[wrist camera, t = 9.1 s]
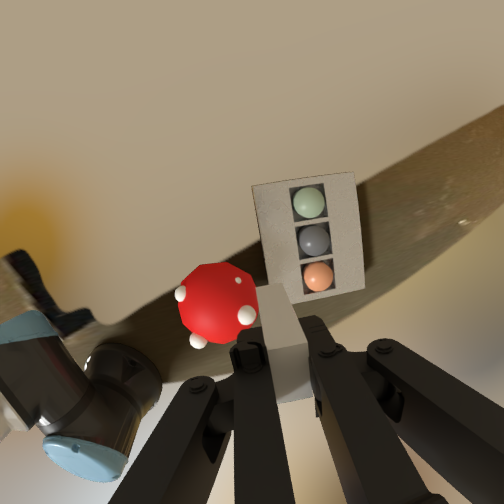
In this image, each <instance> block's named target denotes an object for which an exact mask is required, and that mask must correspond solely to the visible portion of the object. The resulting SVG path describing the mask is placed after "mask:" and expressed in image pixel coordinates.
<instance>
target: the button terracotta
mask: <svg viewBox="0 0 504 504" xmlns="http://www.w3.org/2000/svg"><path fill="white" fill-rule="evenodd" d="M302 277H303V280H304V281H305V283H306V284H307V286H308V287H309V288H310V289H311V290H313V291H323V290H325V289H327V288H328V287H329V286H330V285H331V283H332V280H333V272H332V270H331V269H330V267H328V266H327V265H326V264H325V263H324V262H323V261H321V260H320V261H315V262H310V263H307V264H306V265H305V267H304V268H303V272H302Z"/></svg>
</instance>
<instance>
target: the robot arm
mask: <svg viewBox="0 0 504 504" xmlns="http://www.w3.org/2000/svg"><path fill="white" fill-rule="evenodd" d="M255 288H256V294H257V300H258V306H259V312H260V318H261V324H262V326H261V327H255V328H249V329H243V330H241V331H240V332H239V334H238V335H237V344H235V345H234V346H233V347H232V348H231V349H230V352H229V353H230V357H231V361H232V365H233V369H234V373H233V374H232V375H231V376H229V377H228V378H226V379H223V380H221V381H218V382H214V379H212V378H210V377H207V376H196V377H193V378H190V379H188V380H187V381H185V382H184V383H183V384H182V385H181V386H180V388H179V390H178V392H177V393H176V395H175V396H174V398H173V400H172V401H171V403H170V405H169V406H168V408H167V409H166V411H165V413H164V414H163V416H162V418H161V419H160V421H159V423H158V424H157V426H156V427H155V429H154V431H153V432H152V434H151V435H150V437H149V438H148V440H147V442H146V443H145V445H144V447H143V448H142V450H141V451H140V453H139V455H138V456H137V458H136V460H135V461H134V463H133V464H132V466H131V467H130V469H129V471H128V472H127V474H126V476H125V477H124V479H123V480H122V482H121V483H120V485H119V487H118V488H117V490H116V491H115V493H114V494H113V496H112V498H111V499H110V501H109V502H108V504H206V503H207V501H208V498H209V495H210V493H211V490H212V487H213V485H214V482H215V479H216V476H217V473H218V471H219V468H220V465H221V462H222V459H223V457H224V454H225V451H226V448H227V445H228V442H229V439H230V436H231V431H232V430H234V491H235V492H234V496H235V504H295V498H294V493H293V488H292V482H291V477H290V472H289V466H288V461H287V455H286V450H285V444H284V439H283V433H282V428H281V423H280V417H279V412H278V406H277V404H280V403H286V402H291V401H296V400H300V399H305V398H310V397H313V394H312V390H313V393H314V396H315V410H316V417H319V418H320V421H321V424H322V427H323V430H324V433H325V436H326V439H327V442H328V445H329V449H330V452H331V455H332V458H333V461H334V464H335V467H336V470H337V473H338V476H339V479H340V483H341V486H342V489H343V492H344V495H345V498H346V501H347V504H449V503H448V502H447V501H446V499H445V498H444V497H443V496H441V495H440V494H432V493H431V492H429V490H428V489H427V487H426V486H425V484H424V482H423V480H422V478H421V476H420V475H419V473H418V471H417V470H416V467H415V466H414V464H413V462H412V461H411V459H410V457H409V455H408V453H407V451H406V450H405V448H404V446H403V445H402V443H401V441H400V439H399V438H398V436H399V437H400V438H401V439H402V440H403V441H404V442H405V443H406V444H407V445H408V446H410V447H411V448H412V449H413V450H414V451H415V452H416V453H417V454H418V455H419V456H420V457H421V458H422V459H424V460H425V461H426V462H427V463H428V464H429V465H430V466H431V467H432V468H433V469H434V470H435V471H437V472H438V473H439V474H440V475H441V476H442V477H443V478H444V479H445V480H446V481H447V482H449V483H450V484H451V485H452V486H453V487H454V488H455V489H456V490H458V491H459V492H460V493H461V494H462V495H463V496H464V497H465V498H466V499H468V500H469V501H470V502H471V503H472V504H504V408H502V407H501V406H499V405H498V404H496V403H494V402H493V401H491V400H490V399H488V398H486V397H485V396H483V395H482V394H480V393H479V392H477V391H475V390H474V389H472V388H471V387H469V386H468V385H466V384H464V383H463V382H461V381H460V380H458V379H456V378H455V377H453V376H452V375H450V374H448V373H447V372H445V371H444V370H442V369H441V368H439V367H437V366H436V365H434V364H433V363H431V362H429V361H428V360H426V359H425V358H423V357H421V356H420V355H418V354H417V353H415V352H413V351H412V350H410V349H409V348H407V347H405V346H404V345H402V344H401V343H399V342H397V341H395V340H393V339H386V338H384V339H378V340H375V341H373V342H371V343H370V344H369V345H368V347H367V351H366V352H349V351H347V350H346V348H345V347H344V346H343V345H341V344H338V343H336V342H335V341H334V339H333V337H332V336H331V334H330V332H329V330H328V329H327V327H326V325H325V324H324V322H323V320H322V319H321V318H319V317H317V316H315V315H313V316H308V317H303V318H297V316H296V314H295V311H294V309H293V307H292V304H291V302H290V300H289V298H288V295H287V293H286V291H285V288H284V286H283V284H282V283H277V284H271V285H266V286H260V287H255ZM161 391H162V380H161V377H160V374H159V372H158V370H157V369H156V367H155V366H154V365H153V363H152V362H151V361H150V360H149V359H148V358H147V357H145V356H144V355H143V354H142V353H140V352H138V351H137V350H135V349H133V348H131V347H128V346H126V345H122V344H117V343H107V344H103V345H100V346H98V347H97V348H95V349H94V350H93V351H92V353H91V354H90V355H89V357H88V358H87V360H86V363H85V368H84V372H83V371H82V370H81V368H80V367H79V366H78V364H77V363H76V362H75V360H74V359H73V357H72V356H71V355H70V353H69V352H68V350H67V349H66V347H65V346H64V344H63V343H62V341H61V340H60V338H59V336H58V333H57V332H55V331H54V329H53V328H52V327H51V325H50V324H49V322H48V321H47V319H46V318H45V316H44V315H43V314H42V313H41V312H39V311H36V310H30V311H28V312H25V313H23V314H21V315H18V316H16V317H14V318H12V319H10V320H8V321H6V322H4V323H2V324H1V325H0V442H1V441H2V440H3V439H4V438H5V437H6V436H7V435H8V434H9V433H10V432H11V431H12V430H20V431H29V430H30V429H31V428H32V427H33V426H34V425H35V424H36V426H37V427H38V428H39V429H40V430H41V431H42V432H43V433H44V434H45V436H46V437H45V438H44V439H43V449H44V450H45V453H46V454H47V456H48V457H49V458H50V459H51V460H52V461H53V462H55V463H56V464H57V465H59V466H60V467H62V468H63V469H65V470H66V471H69V472H70V473H72V474H74V475H76V476H79V477H81V478H84V479H87V480H91V481H95V482H112V481H115V480H117V479H118V478H119V477H120V476H121V474H122V472H123V469H124V467H125V465H126V464H127V463H128V458H129V455H130V452H131V449H132V445H133V442H134V439H135V436H136V433H137V430H138V427H139V424H140V422H141V419H142V418H143V417H144V416H145V415H146V414H147V412H148V411H149V410H151V409H152V408H153V407H154V406H155V405H156V404H157V402H158V400H159V398H160V395H161ZM397 435H398V436H397Z"/></svg>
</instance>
